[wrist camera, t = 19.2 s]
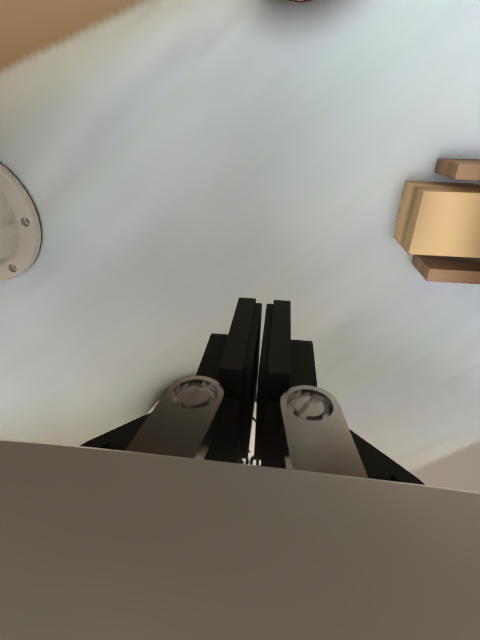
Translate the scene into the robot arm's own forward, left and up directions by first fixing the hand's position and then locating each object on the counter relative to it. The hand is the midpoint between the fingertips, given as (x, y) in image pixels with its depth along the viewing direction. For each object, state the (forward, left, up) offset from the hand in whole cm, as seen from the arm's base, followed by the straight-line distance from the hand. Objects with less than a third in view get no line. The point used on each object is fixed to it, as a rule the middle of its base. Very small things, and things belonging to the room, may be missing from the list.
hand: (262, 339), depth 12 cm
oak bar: (+15, 0, -22) cm, 27 cm away
